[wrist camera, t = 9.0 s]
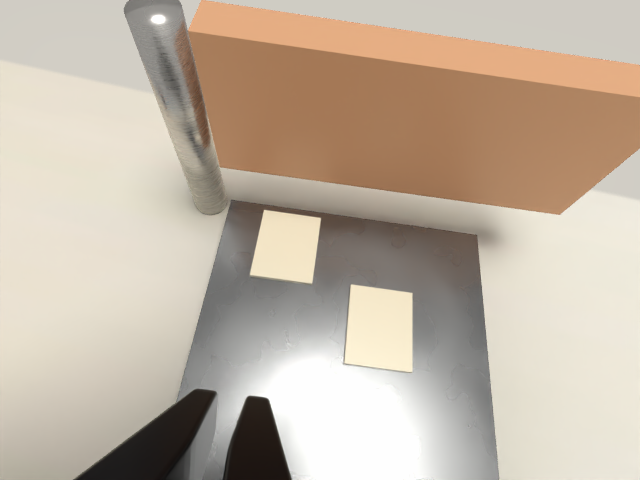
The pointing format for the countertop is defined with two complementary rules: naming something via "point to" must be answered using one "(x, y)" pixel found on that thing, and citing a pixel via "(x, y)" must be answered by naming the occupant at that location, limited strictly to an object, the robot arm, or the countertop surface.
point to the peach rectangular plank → (411, 109)
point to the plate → (328, 314)
